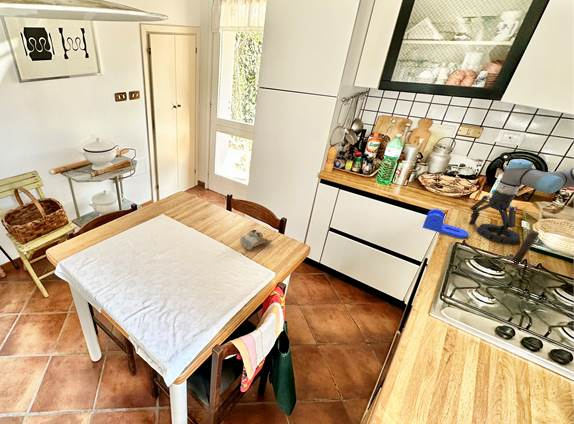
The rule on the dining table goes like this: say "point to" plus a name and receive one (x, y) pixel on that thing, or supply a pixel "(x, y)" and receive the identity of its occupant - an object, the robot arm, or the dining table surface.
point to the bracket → (442, 224)
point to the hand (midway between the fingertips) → (484, 230)
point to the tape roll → (509, 240)
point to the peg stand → (523, 250)
